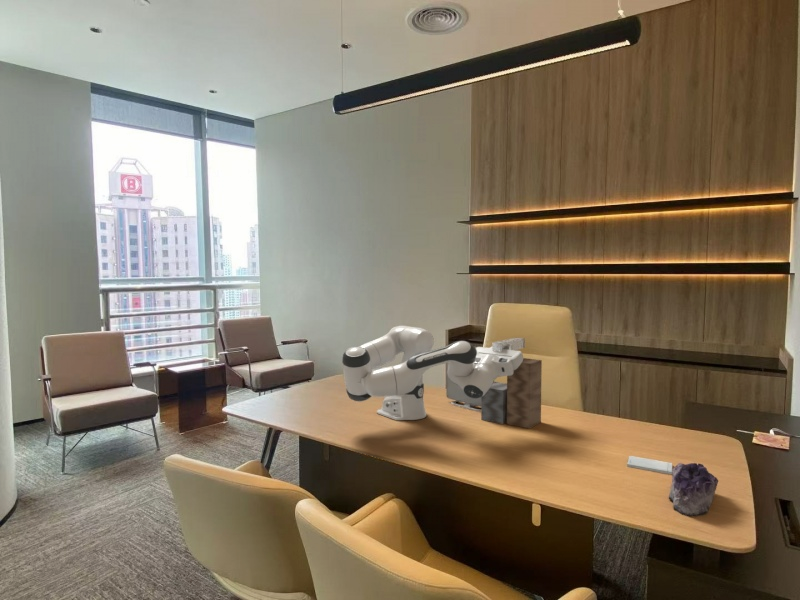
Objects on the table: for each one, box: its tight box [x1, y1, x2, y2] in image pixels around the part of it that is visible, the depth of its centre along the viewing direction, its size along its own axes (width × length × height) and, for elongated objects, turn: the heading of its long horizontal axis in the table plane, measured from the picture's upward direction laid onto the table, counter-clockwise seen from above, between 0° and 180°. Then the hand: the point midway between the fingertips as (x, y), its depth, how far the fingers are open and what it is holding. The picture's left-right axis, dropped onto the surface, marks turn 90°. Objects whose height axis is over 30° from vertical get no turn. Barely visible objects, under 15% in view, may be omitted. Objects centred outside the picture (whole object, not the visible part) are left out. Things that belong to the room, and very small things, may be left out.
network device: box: [445, 362, 495, 412], centre depth 222 cm, size 26×9×20 cm, turn 42°
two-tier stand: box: [480, 357, 543, 429], centre depth 199 cm, size 21×12×26 cm, turn 51°
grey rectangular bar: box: [491, 337, 526, 352], centre depth 196 cm, size 4×22×4 cm, turn 142°
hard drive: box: [626, 455, 673, 476], centre depth 151 cm, size 2×8×12 cm
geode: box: [668, 462, 719, 517], centre depth 127 cm, size 20×12×10 cm, turn 145°
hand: (504, 345), depth 192 cm, fingers closed on grey rectangular bar, 4 cm apart
